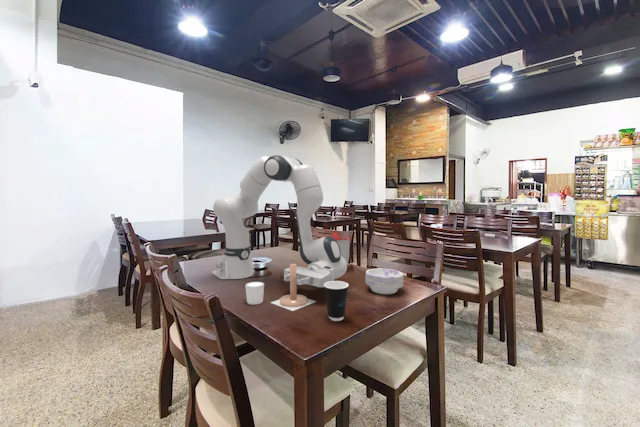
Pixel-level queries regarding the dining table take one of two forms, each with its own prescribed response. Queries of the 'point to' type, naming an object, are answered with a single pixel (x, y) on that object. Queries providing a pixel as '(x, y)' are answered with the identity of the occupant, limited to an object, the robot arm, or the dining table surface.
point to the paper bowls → (384, 280)
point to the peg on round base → (293, 292)
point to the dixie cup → (336, 299)
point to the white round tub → (254, 292)
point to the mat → (293, 307)
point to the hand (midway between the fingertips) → (291, 280)
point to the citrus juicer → (342, 245)
